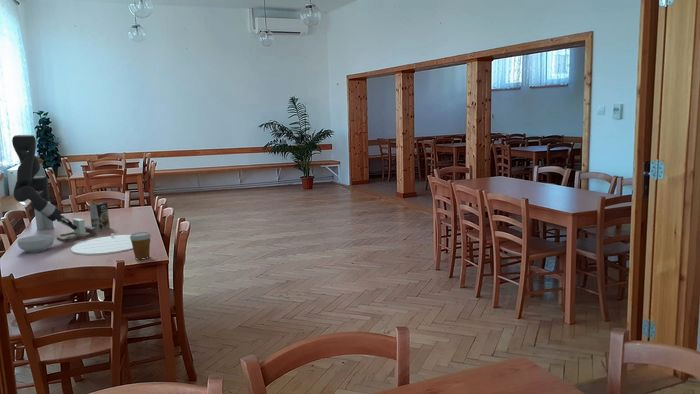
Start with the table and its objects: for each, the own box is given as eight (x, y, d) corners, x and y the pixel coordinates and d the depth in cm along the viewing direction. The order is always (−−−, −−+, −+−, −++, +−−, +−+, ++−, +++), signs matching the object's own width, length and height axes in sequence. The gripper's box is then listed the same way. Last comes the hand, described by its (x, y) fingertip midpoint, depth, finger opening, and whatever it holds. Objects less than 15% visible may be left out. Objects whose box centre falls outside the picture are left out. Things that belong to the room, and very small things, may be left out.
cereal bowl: (62, 247, 294) (60, 234, 292) (36, 255, 278) (34, 242, 277) (38, 245, 299) (37, 233, 298) (11, 254, 284) (9, 240, 282)
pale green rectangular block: (80, 235, 312) (78, 220, 311) (74, 233, 319) (72, 219, 317) (85, 234, 315) (84, 219, 313) (79, 232, 321) (77, 218, 319)
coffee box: (101, 231, 330) (98, 204, 327) (91, 231, 331) (88, 205, 328) (110, 227, 339) (107, 202, 336) (101, 227, 340) (98, 202, 337)
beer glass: (135, 256, 269) (132, 232, 267) (155, 254, 270) (152, 231, 268) (129, 261, 260) (126, 237, 258) (149, 260, 261) (147, 235, 259)
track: (64, 242, 305) (63, 234, 305) (57, 239, 313) (56, 231, 312) (96, 235, 318) (96, 228, 318) (89, 233, 326) (88, 225, 325)
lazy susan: (74, 242, 306) (74, 236, 305) (148, 233, 320) (148, 227, 319) (67, 259, 269) (66, 253, 269) (151, 249, 283) (150, 242, 283)
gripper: (58, 207, 301) (84, 224, 312) (50, 204, 310) (75, 221, 320) (49, 218, 298) (75, 235, 309) (41, 215, 307) (66, 232, 317)
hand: (75, 228), depth 314 cm, fingers closed
